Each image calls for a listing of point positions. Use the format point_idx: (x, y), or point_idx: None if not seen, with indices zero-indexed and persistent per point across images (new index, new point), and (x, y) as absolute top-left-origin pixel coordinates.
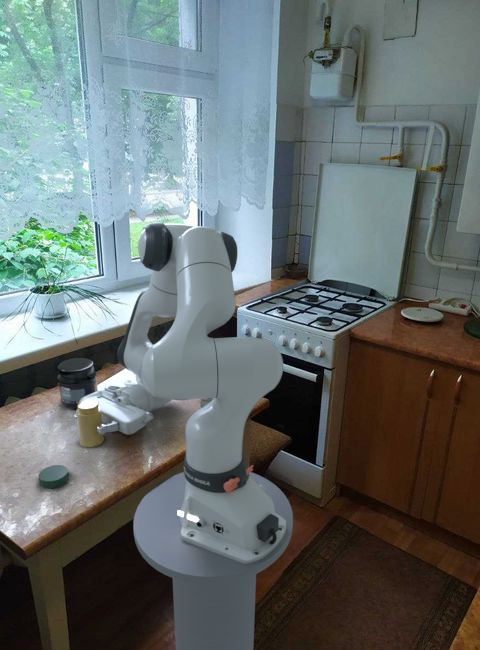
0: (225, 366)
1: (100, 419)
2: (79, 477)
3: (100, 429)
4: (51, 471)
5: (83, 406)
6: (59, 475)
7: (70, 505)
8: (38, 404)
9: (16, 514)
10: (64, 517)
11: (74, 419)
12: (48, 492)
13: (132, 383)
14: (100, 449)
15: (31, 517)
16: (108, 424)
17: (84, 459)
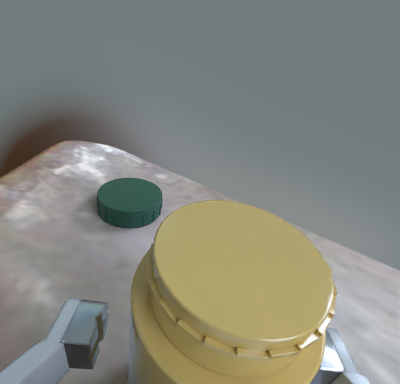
0: None
1: (132, 366)
2: (77, 229)
3: (71, 298)
4: (139, 194)
5: (232, 218)
6: (110, 190)
7: (43, 179)
8: None
9: (122, 158)
10: (38, 165)
11: None
12: None
13: None
14: (98, 369)
15: (96, 158)
16: (31, 364)
17: (118, 286)
